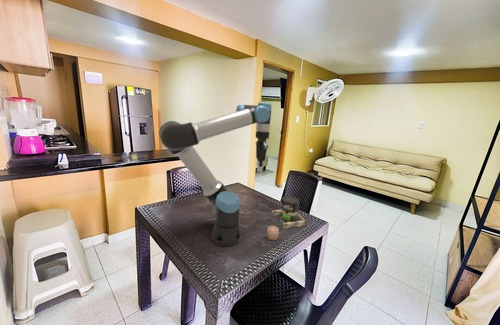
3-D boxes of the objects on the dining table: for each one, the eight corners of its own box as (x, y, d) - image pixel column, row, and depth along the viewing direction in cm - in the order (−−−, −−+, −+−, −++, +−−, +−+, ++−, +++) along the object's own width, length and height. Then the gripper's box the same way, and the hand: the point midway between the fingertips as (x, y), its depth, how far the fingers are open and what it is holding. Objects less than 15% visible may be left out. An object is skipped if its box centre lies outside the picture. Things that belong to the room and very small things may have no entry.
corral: (283, 228, 120) (283, 224, 119) (271, 214, 135) (272, 210, 134) (305, 225, 125) (306, 221, 124) (292, 212, 140) (292, 208, 139)
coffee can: (293, 226, 123) (296, 204, 120) (277, 221, 128) (279, 199, 124) (298, 219, 132) (301, 198, 128) (283, 214, 137) (285, 194, 133)
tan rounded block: (269, 241, 108) (270, 232, 107) (265, 234, 114) (265, 226, 112) (279, 239, 110) (280, 231, 109) (275, 233, 116) (275, 225, 114)
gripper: (273, 132, 112) (269, 174, 118) (264, 129, 124) (261, 167, 130) (260, 132, 109) (257, 175, 115) (252, 129, 121) (249, 168, 127)
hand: (259, 171), depth 123 cm, fingers closed
